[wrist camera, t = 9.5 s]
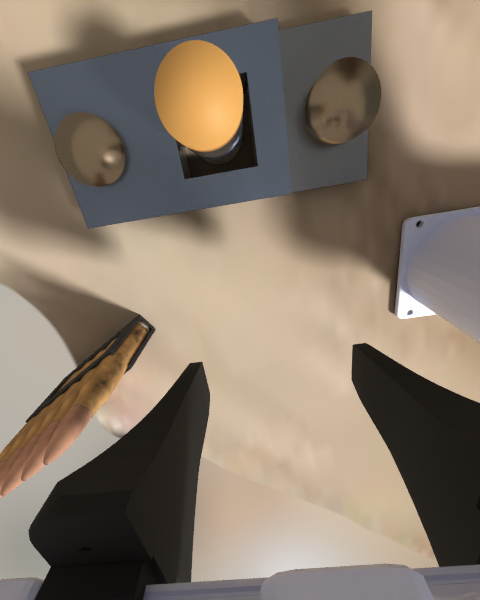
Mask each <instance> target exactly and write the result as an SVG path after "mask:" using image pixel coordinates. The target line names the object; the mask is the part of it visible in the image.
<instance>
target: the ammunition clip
mask: <svg viewBox="0 0 480 600" xmlns="http://www.w3.org/2000/svg"><path fill="white" fill-rule="evenodd" d="M154 331H155V328H154V327H153V326H152V325H150V324H149V323H148V322H147V321H146V320H145V319H144V318H143V317H142V316H141V315H138V316H137V317H136V318H135V319H134V320H133V321H131V322H130V323H129V324H128V325H127V326H125V327H124V328H123V329H122V330H121V331H120V332H118V333H117V334H116V335H115V336H114V337H112V338H111V339H110V340H109V341H108V342H107V343H105V344H104V345H103V346H102V347H101V348H99V349H98V350H97V351H96V352H95V353H94V354H92V355H91V356H90V357H89V358H88V359H86V360H85V361H84V362H83V363H82V364H81V365H79V366H78V367H77V368H76V369H75V370H73V371H72V372H71V373H70V374H69V375H68V376H67V377H65V378H64V379H63V381H62V382H61V383H60V384H59V385H58V386H57V387H56V388H55V390H53V392H52V393H51V394H50V395H49V396H48V397H47V398H46V399H45V400H44V402H43V403H42V404H41V405H40V406H39V407H38V408H37V409H36V410H35V411H34V413H33V414H32V415H31V416H30V417H29V418H28V419H27V420H26V422H27V424H26V425H25V426H24V427H23V428H22V429H21V430H20V431H19V433H18V434H17V435H16V436H15V437H14V438H13V439H12V441H11V442H10V443H9V444H8V445H7V446H6V447H5V449H4V450H3V451H2V452H1V454H0V498H1V497H3V496H5V495H7V494H8V493H9V492H11V491H12V490H13V489H15V488H16V487H17V486H18V485H19V484H21V483H22V482H23V481H26V480H27V479H29V478H30V477H32V476H33V475H34V474H35V473H37V472H38V471H39V470H40V469H41V468H42V467H43V466H44V465H48V464H49V463H51V462H52V461H54V460H55V459H56V458H57V457H59V456H60V455H61V454H62V453H63V452H64V451H65V450H66V449H67V448H68V447H69V446H70V445H71V444H72V443H73V442H74V441H75V440H76V438H77V437H78V436H79V434H80V433H81V432H82V431H83V429H84V428H85V427H86V425H87V423H88V422H89V420H90V419H91V418H92V417H93V416H94V414H95V413H96V411H97V410H98V409H99V407H100V406H101V405H102V404H103V403H104V402H105V401H106V400H107V399H108V398H109V396H110V395H111V393H112V392H113V390H114V388H115V387H116V385H117V384H118V382H119V380H120V379H121V377H122V376H123V374H125V373H126V372H127V371H129V370H130V369H131V368H132V366H133V365H134V363H135V362H136V360H137V358H138V357H139V355H140V354H141V352H142V350H143V349H144V347H145V346H146V344H147V342H148V341H149V339H150V338H151V336H152V334H153V333H154Z"/></svg>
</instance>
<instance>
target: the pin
mask: <svg viewBox="0 0 480 600" xmlns="http://www.w3.org/2000/svg"><path fill="white" fill-rule="evenodd" d="M154 97H155V104H156V109H157V112H158V115H159V117H160V120H161V122H162V123H163V125H164V127H165V128H166V130H167V131H168V132H169V133H170V135H171V136H172V137H173V138H175V139H176V140H177V141H178V142H180V143H181V144H183V145H184V146H186V147H187V148H189V149H190V150H192V151H193V152H194V153H196V154H197V155H199V156H200V157H202V158H203V159H205V160H206V161H208V162H210V163H214V164H223V163H226V162H228V161H230V160H231V159H233V158H234V157H235V156H236V154H237V153H238V151H239V149H240V147H241V143H242V129H243V88H242V83H241V79H240V76H239V73H238V71H237V69H236V67H235V65H234V63H233V62H232V60H231V59H230V58H229V56H228V55H227V54H226V53H225V52H224V51H223V50H221V49H220V48H219V47H217V46H215V45H214V44H212V43H209V42H206V41H201V40H191V41H186V42H183V43H181V44H179V45H177V46H175V47H174V48H173V49H171V50H170V51H169V52H168V54H167V55H166V56H165V57H164V59H163V60H162V62H161V64H160V66H159V68H158V71H157V74H156V79H155V86H154Z"/></svg>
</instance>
